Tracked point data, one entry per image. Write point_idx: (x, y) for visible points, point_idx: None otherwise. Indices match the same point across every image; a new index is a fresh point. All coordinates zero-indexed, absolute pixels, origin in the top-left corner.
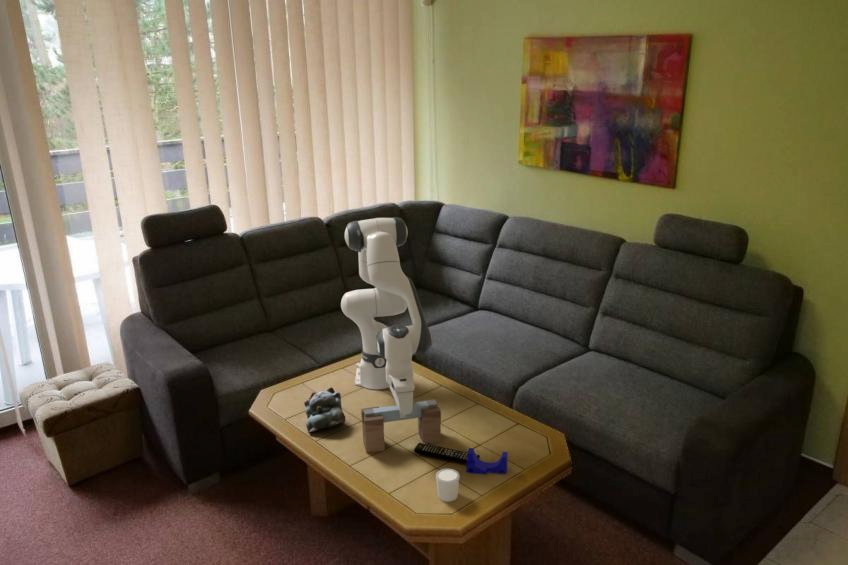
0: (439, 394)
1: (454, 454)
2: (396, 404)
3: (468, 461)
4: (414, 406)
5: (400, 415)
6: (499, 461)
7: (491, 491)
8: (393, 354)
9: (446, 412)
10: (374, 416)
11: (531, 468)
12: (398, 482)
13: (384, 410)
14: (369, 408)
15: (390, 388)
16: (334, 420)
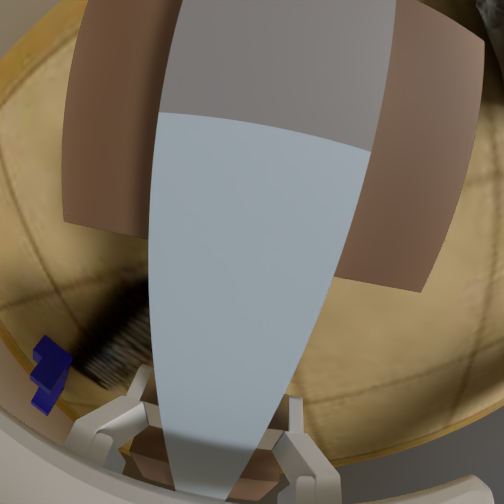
0: (423, 423)
1: (112, 358)
2: (289, 439)
3: (41, 358)
4: (183, 473)
5: (133, 380)
6: (45, 393)
7: (4, 329)
8: None
9: (342, 424)
10: (147, 108)
11: (67, 407)
12: (13, 154)
13: (183, 319)
14: (454, 142)
15: (453, 502)
16: (497, 9)
